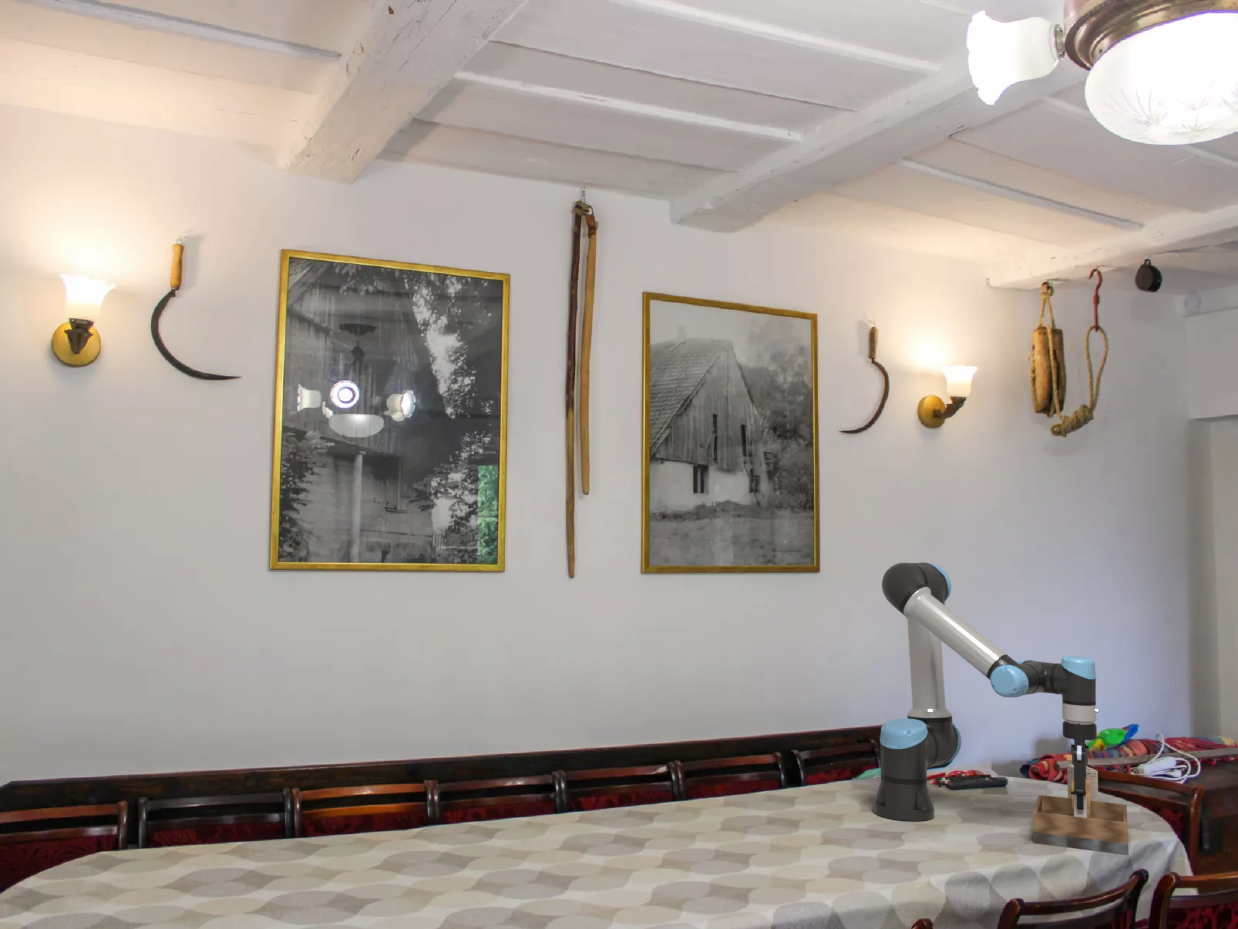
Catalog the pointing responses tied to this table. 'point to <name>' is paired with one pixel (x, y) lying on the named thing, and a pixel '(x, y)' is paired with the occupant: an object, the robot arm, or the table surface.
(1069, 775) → the supplement box
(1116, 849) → the box
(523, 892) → the table surface
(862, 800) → the table surface
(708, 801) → the table surface
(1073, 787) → the dowel
